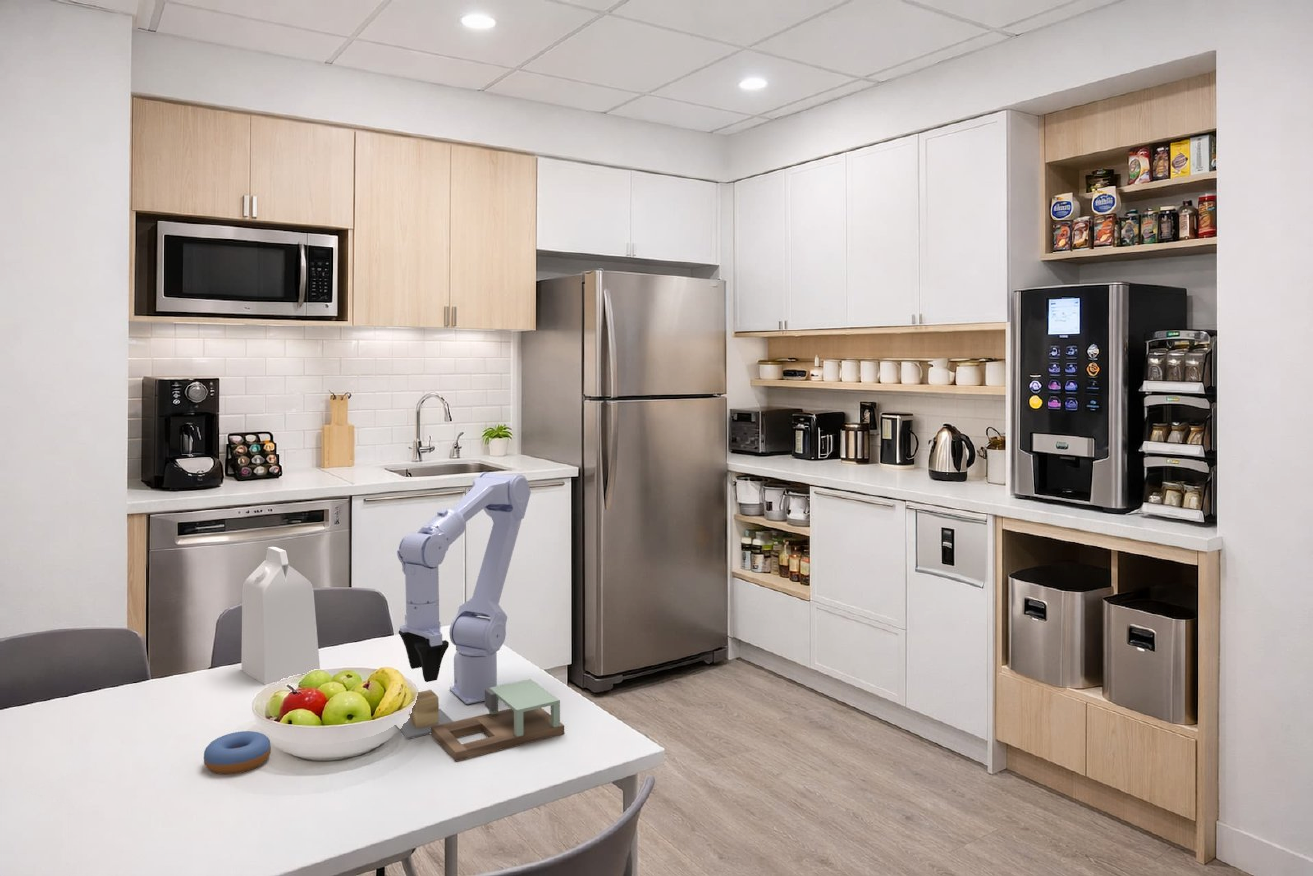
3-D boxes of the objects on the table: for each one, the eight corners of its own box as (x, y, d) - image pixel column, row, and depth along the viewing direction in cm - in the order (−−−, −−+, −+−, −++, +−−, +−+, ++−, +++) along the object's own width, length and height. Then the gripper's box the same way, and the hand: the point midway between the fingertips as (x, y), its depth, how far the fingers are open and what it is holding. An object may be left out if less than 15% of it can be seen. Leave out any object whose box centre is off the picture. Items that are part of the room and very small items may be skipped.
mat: (392, 721, 160) (392, 719, 160) (440, 710, 165) (440, 708, 165) (407, 739, 152) (407, 737, 152) (457, 727, 157) (457, 725, 157)
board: (431, 735, 154) (431, 726, 154) (534, 710, 165) (534, 702, 165) (455, 761, 144) (455, 752, 144) (564, 733, 155) (564, 725, 155)
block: (409, 720, 159) (409, 694, 158) (431, 716, 161) (430, 689, 161) (416, 728, 156) (416, 701, 155) (438, 723, 158) (438, 696, 157)
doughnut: (241, 742, 150) (239, 718, 149) (285, 756, 146) (283, 731, 145) (190, 773, 141) (187, 747, 140) (236, 789, 137) (233, 762, 136)
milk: (320, 670, 185) (316, 549, 183) (264, 684, 177) (260, 558, 174) (295, 656, 193) (291, 540, 191) (241, 670, 185) (236, 548, 183)
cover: (484, 714, 159) (484, 689, 159) (530, 703, 164) (530, 679, 164) (511, 738, 149) (511, 711, 149) (559, 726, 154) (559, 700, 154)
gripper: (387, 593, 160) (389, 666, 161) (413, 613, 148) (414, 691, 149) (425, 588, 164) (427, 659, 165) (453, 607, 152) (454, 683, 153)
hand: (423, 674), depth 158 cm, fingers open, 7 cm apart
